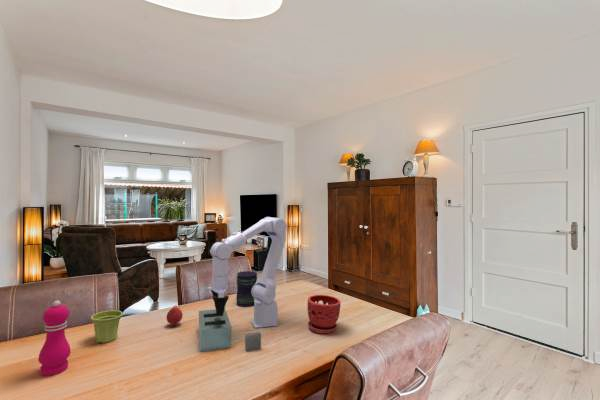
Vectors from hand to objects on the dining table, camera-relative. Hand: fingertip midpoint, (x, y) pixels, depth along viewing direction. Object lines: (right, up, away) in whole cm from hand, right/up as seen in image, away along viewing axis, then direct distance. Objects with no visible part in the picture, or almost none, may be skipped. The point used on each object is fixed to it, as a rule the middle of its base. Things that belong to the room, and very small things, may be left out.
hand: (219, 311), depth 113 cm
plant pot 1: (-39, -8, -5) cm, 40 cm away
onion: (-20, -9, +8) cm, 23 cm away
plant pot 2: (+39, -10, +8) cm, 42 cm away
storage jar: (+4, -10, +36) cm, 37 cm away
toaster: (-1, -9, -2) cm, 9 cm away
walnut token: (-3, -8, +2) cm, 9 cm away
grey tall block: (+14, -9, -9) cm, 19 cm away
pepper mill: (-41, -8, -25) cm, 49 cm away
